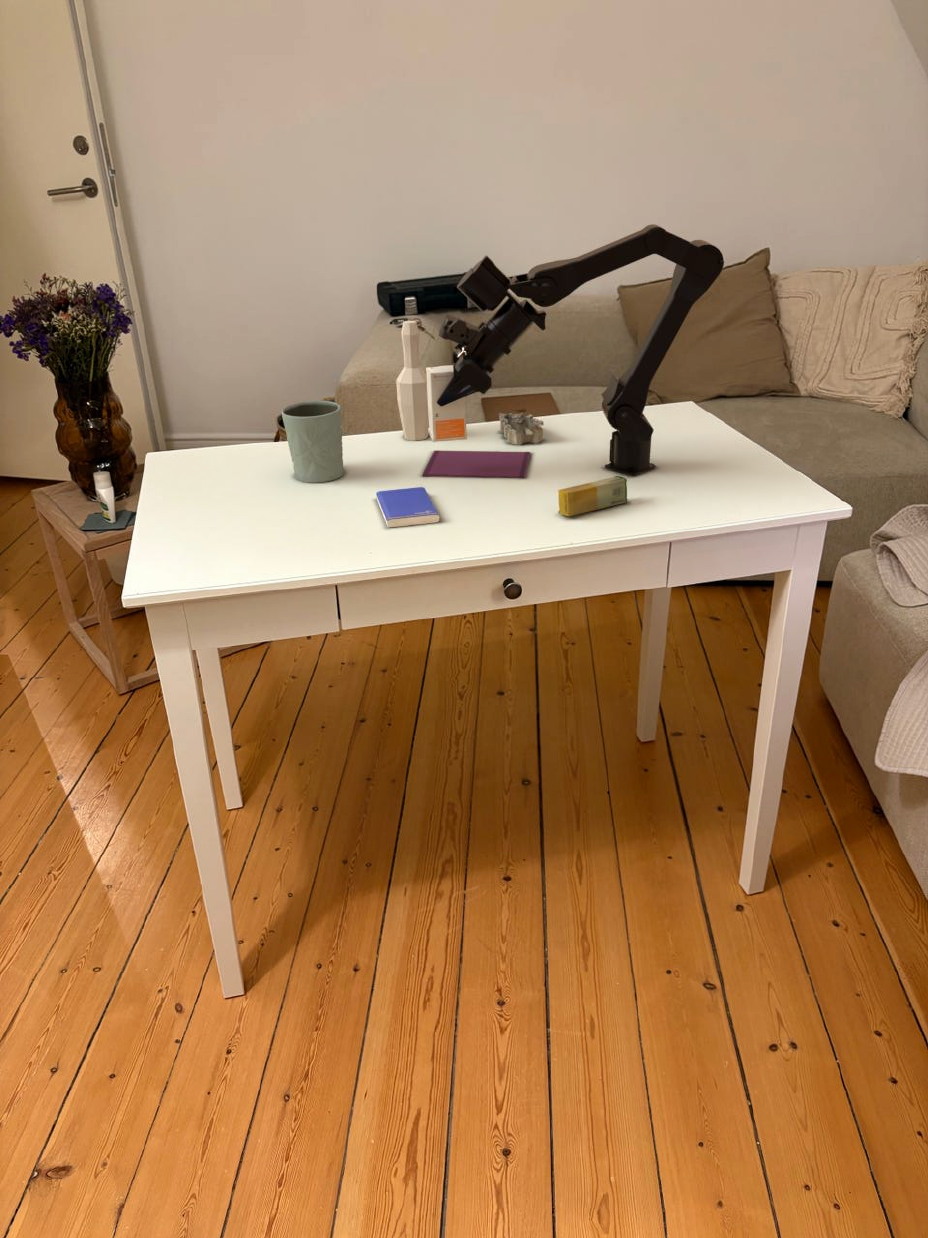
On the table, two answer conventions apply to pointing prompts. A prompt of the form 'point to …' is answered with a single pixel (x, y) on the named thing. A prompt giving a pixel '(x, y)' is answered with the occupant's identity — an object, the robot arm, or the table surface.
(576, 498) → the medication box
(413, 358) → the faceted bottle
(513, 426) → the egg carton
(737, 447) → the table surface
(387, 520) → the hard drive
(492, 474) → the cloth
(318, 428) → the green plant pot
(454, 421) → the cosmetic box
